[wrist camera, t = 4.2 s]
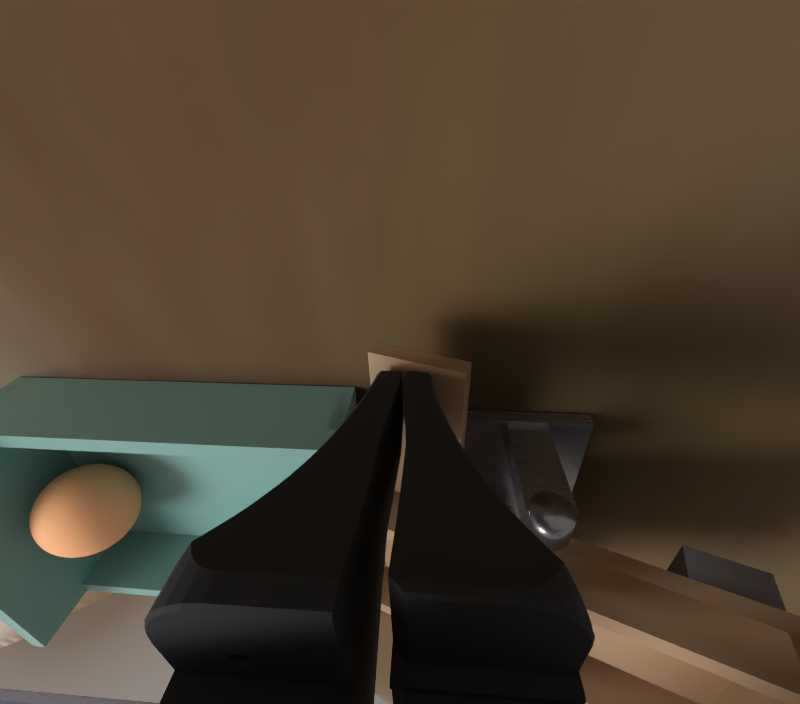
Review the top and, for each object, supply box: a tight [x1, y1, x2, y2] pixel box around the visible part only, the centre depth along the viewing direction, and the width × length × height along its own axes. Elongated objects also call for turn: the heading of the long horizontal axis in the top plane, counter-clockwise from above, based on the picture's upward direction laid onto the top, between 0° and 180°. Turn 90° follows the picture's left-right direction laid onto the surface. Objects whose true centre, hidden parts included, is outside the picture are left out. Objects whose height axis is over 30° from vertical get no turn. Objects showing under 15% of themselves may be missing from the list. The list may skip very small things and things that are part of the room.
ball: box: [29, 464, 142, 558], centre depth 18 cm, size 4×4×4 cm
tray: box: [0, 377, 357, 647], centre depth 17 cm, size 15×11×6 cm
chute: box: [368, 343, 800, 704], centre depth 12 cm, size 13×12×4 cm
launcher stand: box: [464, 410, 594, 550], centre depth 16 cm, size 5×9×5 cm, turn 1°
